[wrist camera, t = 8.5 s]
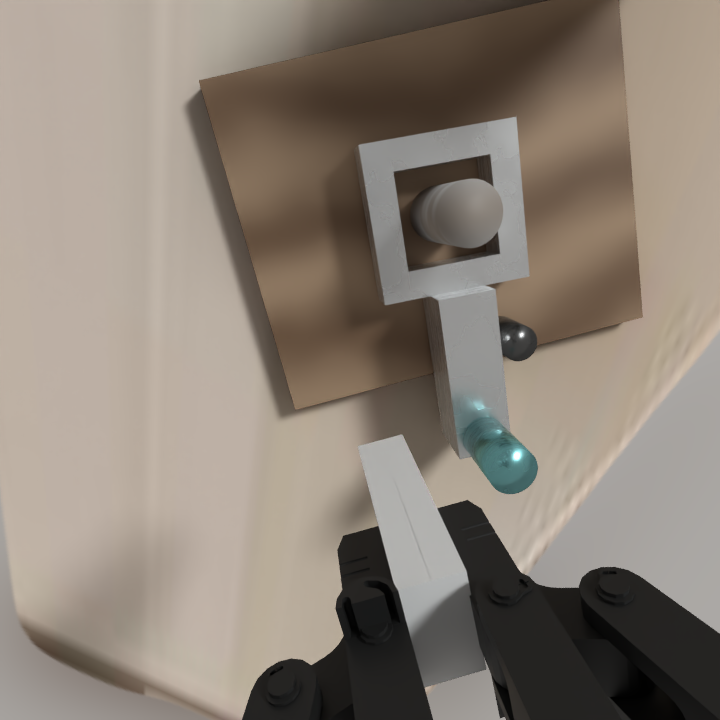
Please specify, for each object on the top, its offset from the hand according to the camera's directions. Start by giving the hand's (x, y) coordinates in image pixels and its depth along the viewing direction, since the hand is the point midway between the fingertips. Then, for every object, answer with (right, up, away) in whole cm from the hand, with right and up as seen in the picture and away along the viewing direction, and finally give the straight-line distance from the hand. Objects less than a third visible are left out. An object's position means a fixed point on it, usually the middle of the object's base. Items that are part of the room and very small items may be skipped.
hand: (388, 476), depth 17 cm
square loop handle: (+4, +7, +13) cm, 15 cm away
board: (+4, +12, +13) cm, 18 cm away
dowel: (+7, +6, +15) cm, 18 cm away
